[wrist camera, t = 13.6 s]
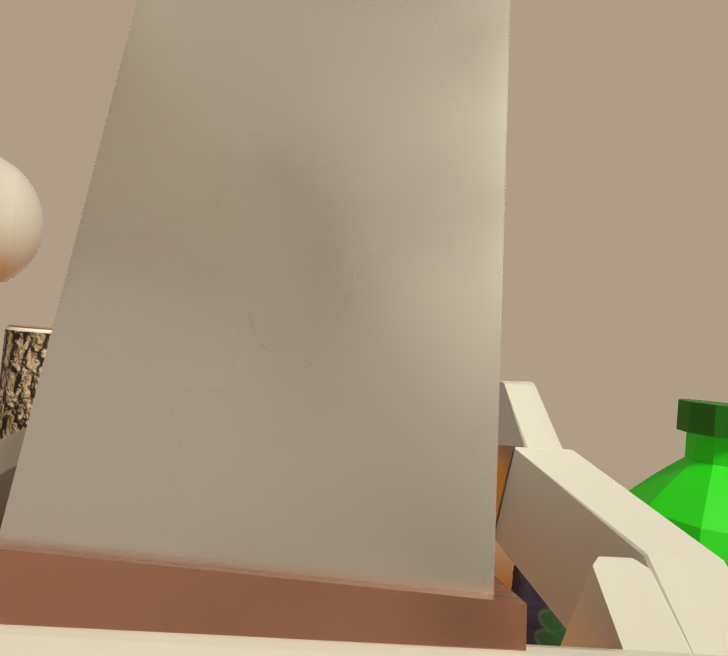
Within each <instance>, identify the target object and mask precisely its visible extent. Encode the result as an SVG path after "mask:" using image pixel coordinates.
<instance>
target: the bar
mask: <svg viewBox="0 0 728 656" xmlns="http://www.w3.org/2000/svg"><path fill="white" fill-rule="evenodd" d="M509 25H510V0H137V3H136V7H135V11H134V15H133V18H132V22H131V26H130V30H129V34H128V38H127V42H126V45H125V49H124V53H123V57H122V61H121V65H120V69H119V73H118V76H117V80H116V85H115V88H114V92H113V96H112V100H111V104H110V108H109V112H108V115H107V119H106V123H105V127H104V131H103V135H102V139H101V142H100V146H99V150H98V154H97V158H96V161H95V165H94V169H93V173H92V177H91V181H90V185H89V189H88V192H87V196H86V201H85V204H84V208H83V212H82V216H81V220H80V223H79V227H78V231H77V235H76V239H75V243H74V247H73V250H72V254H71V258H70V262H69V266H68V270H67V274H66V278H65V282H64V286H63V289H62V293H61V297H60V301H59V305H58V309H57V312H56V316H55V320H54V324H53V328H52V332H51V336H50V339H49V343H48V347H47V351H46V355H45V359H44V363H43V366H42V370H41V374H40V378H39V382H38V386H37V390H36V394H35V397H34V401H33V405H32V409H31V413H30V417H29V421H28V424H27V428H26V432H25V436H24V440H23V444H22V448H21V452H20V455H19V459H18V463H17V467H16V471H15V475H14V479H13V482H12V486H11V490H10V494H9V498H8V502H7V506H6V510H5V513H4V517H3V521H2V525H1V529H0V624H3V625H24V626H44V627H64V628H84V629H104V630H124V631H145V632H165V633H185V634H205V635H225V636H245V637H264V638H283V639H302V640H321V641H340V642H360V643H379V644H398V645H417V646H436V647H456V648H476V649H495V650H515V651H526V632H527V603H526V602H524V601H523V600H522V599H521V598H520V597H518V596H517V595H516V594H515V593H514V592H513V591H511V590H510V589H509V588H508V587H507V586H506V585H504V584H503V583H502V582H501V581H500V580H499V579H497V578H496V577H495V576H494V564H495V563H494V562H495V528H496V492H497V457H498V421H499V385H500V349H501V347H500V346H501V313H502V277H503V242H504V206H505V171H506V135H507V98H508V63H509V28H510V27H509Z"/></svg>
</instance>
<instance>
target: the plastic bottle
mask: <svg viewBox="0 0 728 656" xmlns="http://www.w3.org/2000/svg"><path fill="white" fill-rule="evenodd" d="M677 429H679V430H682V431H685V432H687V435H686V449H685V457H684V458H682V459H680V460H678V461H676V462H675V463H673V464H671V465H669V466H667V467H666V468H664V469H662V470H660V471H659V472H657V473H655V474H654V475H652V476H651V477H649V478H648V479H646V480H645V481H643V482H642V483H640V484H639V485H637V486H635V487H634V488H632V489H631V490H630V491H629V492H631V493H632V494H633V495H635V496H636V497H637V498H639V499H640V500H642V501H643V502H644V503H646V504H647V505H648V506H650V507H651V508H652V509H654V510H655V511H657V512H658V513H659V514H661V515H662V516H663V517H665V518H666V519H668V520H669V521H670V522H672V523H673V524H674V525H676V526H677V527H678V528H680V529H681V530H683V531H684V532H685V533H687V534H688V535H689V536H691V537H692V538H694V539H695V540H696V541H698V542H699V543H700V544H702V545H703V546H704V547H706V548H707V549H709V550H710V551H711V552H713V553H714V554H715V555H717V556H718V557H720V558H721V559H722V560H724V562H725V563H726V565H727V566H728V403H721V402H712V401H702V400H690V399H679V402H678V416H677Z"/></svg>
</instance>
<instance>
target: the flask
mask: <svg viewBox="0 0 728 656" xmlns="http://www.w3.org/2000/svg"><path fill="white" fill-rule="evenodd" d="M511 591H513V592H514V593H515V594H516V595H517V596H518V597H520V598H521V599H522V600H523V601H524V602H526V603H527V632H526V644H529V645H548V646H561V643H562V641H563V638H564V636H565V633H566V631H567V630H566V628H565V627H564V626H563V624H562V623H561V622H560V621H559V619H558V618H557V617H556V616H555V614H554V613H553V612H552V611H551V609H550V608H549V607H548V606H547V604H546V603H545V602H544V601H543V599H542V598H541V597H540V596H539V594H538V593H537V592H536V591H535V589H534V588H533V587H532V585H531V584H530V583H529V582H528V580H527V579H526V578H525V577H524V575H523V574H522V573H521V572H520V570H519V569H518V568H517V567H516V565H514V571H513V582H512V589H511Z"/></svg>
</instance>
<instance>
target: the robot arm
mask: <svg viewBox="0 0 728 656" xmlns="http://www.w3.org/2000/svg"><path fill="white" fill-rule="evenodd" d="M43 231H44V216H43V211H42V207H41V203H40V200H39V198H38V196H37V194H36V192H35V190H34V188H33V187H32V185H31V183H30V182H29V181H28V180H27V178H26V177H25V175H24V174H23V173H22V172H21V171H20V170H19V169H18V168H16V167H15V166H13V165H12V164H10V163H9V162H7V161H5V160H4V159H3V158H2V157H0V282H6V281H8V280H10V279H11V278H13V277H14V276H16V275H17V274H18V273H20V272H21V271H22V270H23V269H24V268H25V267H27V265H28V264H29V263H30V262H31V261H32V259H33V258H34V256H35V255H36V253H37V251H38V249H39V247H40V244H41V241H42V237H43ZM26 428H27V427H26ZM26 428H24V429H22V430H20V431H18V432H16V433H13V434H11V435H9V436H7V437H5V438H3V439H1V440H0V529H1V525H2V521H3V517H4V513H5V510H6V506H7V502H8V498H9V494H10V490H11V486H12V482H13V479H14V475H15V471H16V467H17V463H18V459H19V455H20V452H21V448H22V444H23V440H24V436H25V432H26ZM495 540H496V541H497V543H498V544H499V545H500V546H501V548H502V549H503V550H504V551H505V553H506V554H507V555H508V557H509V558H510V559H511V560H512V561H513V563H514V564H515V565H516V567H517V568H518V569H519V570H520V572H521V573H522V574H523V575H524V577H525V578H526V579H527V580H528V582H529V583H530V584H531V585H532V587H533V588H534V589H535V591H536V592H537V593H538V594H539V596H540V597H541V598H542V599H543V601H544V602H545V603H546V604H547V606H548V607H549V608H550V609H551V611H552V612H553V613H554V614H555V616H556V617H557V618H558V619H559V621H560V622H561V623H562V624H563V626H564V627H565V628H566V630H567V631H566V633H565V636H564V638H563V641H562V643H561V646H548V645H529V644H526V651H515V650H495V649H476V648H456V647H436V646H417V645H398V644H379V643H360V642H340V641H321V640H302V639H283V638H264V637H245V636H225V635H205V634H185V633H165V632H145V631H124V630H104V629H84V628H64V627H44V626H24V625H3V624H0V656H728V566H727V565H726V563H725V562H724V560H722V559H721V558H720V557H718V556H717V555H715V554H714V553H713V552H711V551H710V550H709V549H707V548H706V547H704V546H703V545H702V544H700V543H699V542H698V541H696V540H695V539H694V538H692V537H691V536H689V535H688V534H687V533H685V532H684V531H683V530H681V529H680V528H678V527H677V526H676V525H674V524H673V523H672V522H670V521H669V520H668V519H666V518H665V517H663V516H662V515H661V514H659V513H658V512H657V511H655V510H654V509H652V508H651V507H650V506H648V505H647V504H646V503H644V502H643V501H642V500H640V499H639V498H637V497H636V496H635V495H633V494H632V493H631V492H629V491H628V490H626V489H625V488H624V487H622V486H621V485H620V484H618V483H617V482H616V481H614V480H613V479H611V478H610V477H609V476H607V475H606V474H605V473H603V472H602V471H600V470H599V469H598V468H596V467H595V466H593V465H592V464H591V463H590V462H588V461H587V460H585V459H584V458H583V457H581V456H580V455H579V454H577V453H576V452H574V451H573V450H566V449H562V447H561V444H560V442H559V440H558V437H557V435H556V433H555V431H554V428H553V426H552V423H551V421H550V419H549V417H548V414H547V412H546V409H545V407H544V405H543V402H542V400H541V398H540V395H539V393H538V391H537V389H536V386H535V385H534V384H533V383H532V382H511V381H501V382H500V385H499V421H498V457H497V492H496V528H495Z"/></svg>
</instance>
